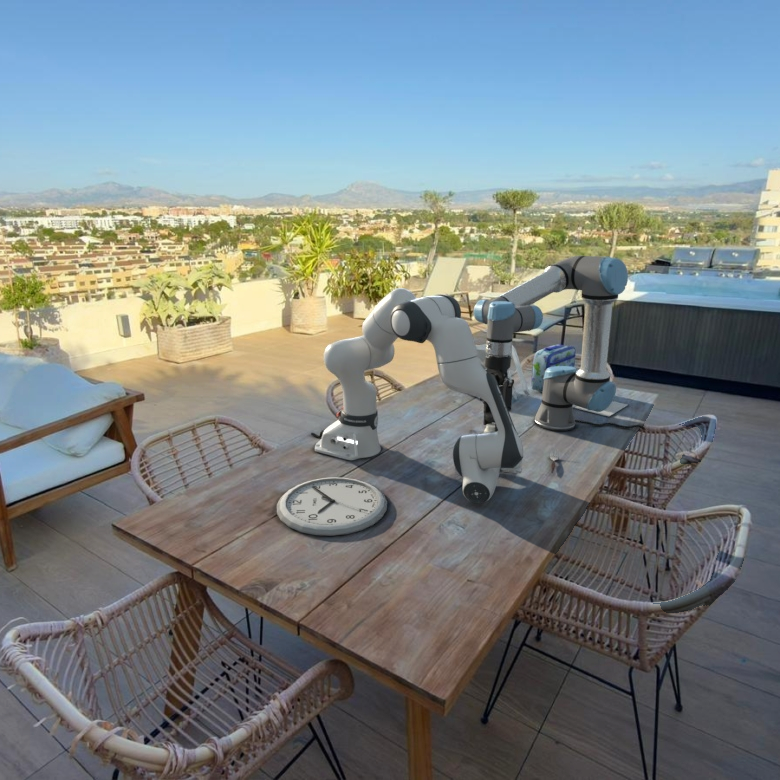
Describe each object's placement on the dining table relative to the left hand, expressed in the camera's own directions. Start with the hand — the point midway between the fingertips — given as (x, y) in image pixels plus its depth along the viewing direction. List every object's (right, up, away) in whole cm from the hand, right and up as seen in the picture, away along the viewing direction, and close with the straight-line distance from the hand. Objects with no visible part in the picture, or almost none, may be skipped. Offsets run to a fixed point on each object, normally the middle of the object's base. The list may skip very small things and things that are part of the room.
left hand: (490, 450), depth 165 cm
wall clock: (-48, -12, -22) cm, 54 cm away
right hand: (0, +8, -3) cm, 8 cm away
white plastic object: (+10, +18, +78) cm, 81 cm away
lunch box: (+45, +19, +85) cm, 98 cm away
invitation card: (+60, +12, +61) cm, 86 cm away
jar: (0, -6, +1) cm, 6 cm away
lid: (0, +11, -4) cm, 12 cm away
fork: (+21, -5, +5) cm, 22 cm away
